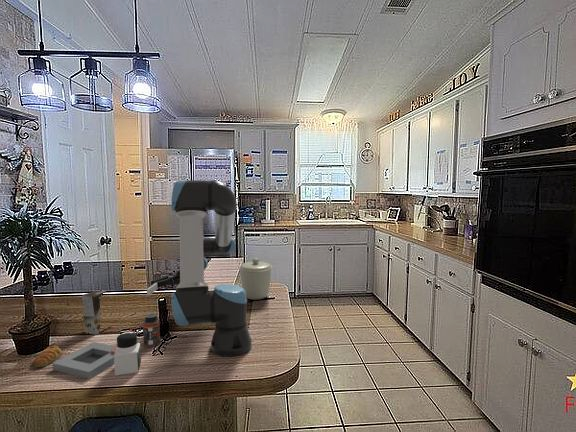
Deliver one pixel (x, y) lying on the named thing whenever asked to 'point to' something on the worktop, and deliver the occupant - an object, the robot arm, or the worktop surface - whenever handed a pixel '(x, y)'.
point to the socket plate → (87, 360)
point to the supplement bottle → (151, 330)
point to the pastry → (48, 356)
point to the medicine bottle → (127, 354)
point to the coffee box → (92, 311)
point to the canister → (256, 278)
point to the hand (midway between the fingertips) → (163, 294)
